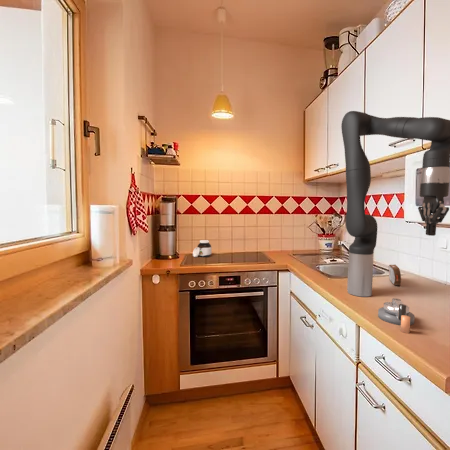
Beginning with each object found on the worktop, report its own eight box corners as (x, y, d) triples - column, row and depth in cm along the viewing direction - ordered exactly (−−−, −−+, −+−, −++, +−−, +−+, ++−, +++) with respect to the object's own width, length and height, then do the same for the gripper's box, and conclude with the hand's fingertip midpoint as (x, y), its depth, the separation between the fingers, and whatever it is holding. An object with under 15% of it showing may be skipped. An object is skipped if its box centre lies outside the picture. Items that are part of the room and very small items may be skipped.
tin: (401, 287, 124) (402, 269, 123) (393, 287, 125) (394, 268, 125) (394, 279, 138) (395, 263, 137) (387, 279, 139) (388, 262, 139)
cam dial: (381, 306, 94) (382, 293, 94) (405, 309, 92) (405, 295, 91) (389, 319, 83) (390, 304, 83) (416, 322, 81) (417, 307, 81)
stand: (371, 313, 94) (372, 300, 94) (400, 312, 95) (400, 299, 94) (401, 333, 79) (402, 318, 79) (435, 332, 80) (436, 317, 79)
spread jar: (213, 256, 201) (213, 240, 200) (204, 258, 192) (204, 242, 191) (199, 254, 207) (199, 239, 207) (190, 257, 198) (190, 241, 197)
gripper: (411, 183, 96) (407, 232, 97) (434, 180, 83) (430, 237, 84) (434, 183, 95) (430, 233, 96) (461, 180, 82) (457, 238, 83)
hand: (430, 235), depth 90 cm, fingers closed
